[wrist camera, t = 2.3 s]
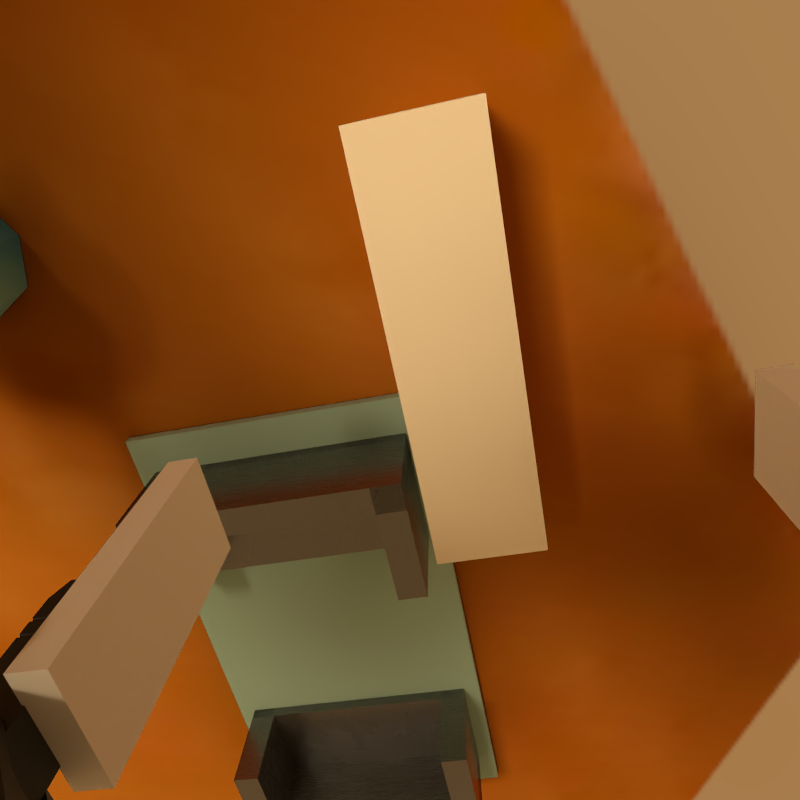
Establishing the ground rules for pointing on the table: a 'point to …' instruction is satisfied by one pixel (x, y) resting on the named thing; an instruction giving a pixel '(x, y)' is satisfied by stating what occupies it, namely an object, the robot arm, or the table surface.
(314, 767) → the cap
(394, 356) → the slat
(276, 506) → the grey u-shaped bracket
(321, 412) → the mat
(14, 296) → the cup
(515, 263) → the table surface
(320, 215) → the table surface
